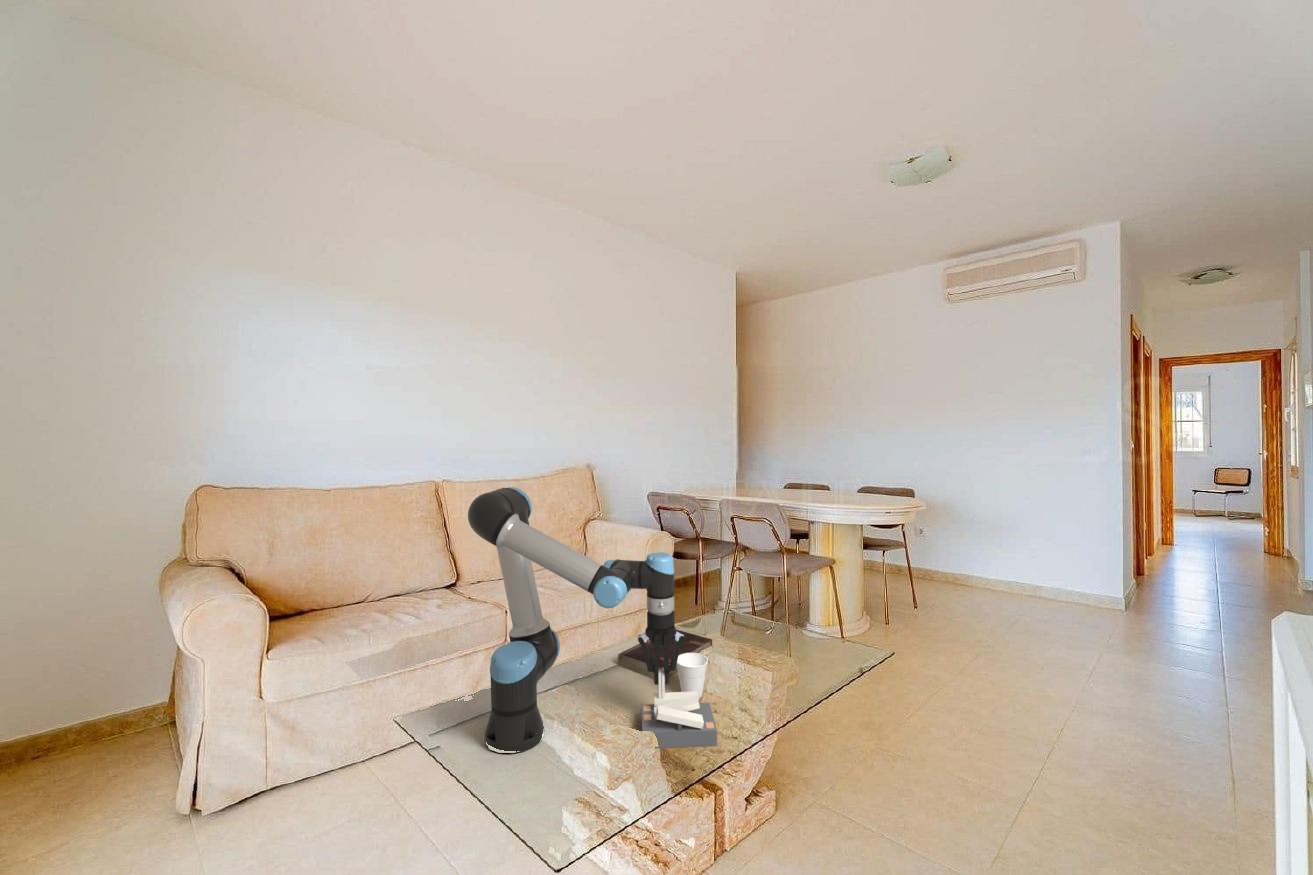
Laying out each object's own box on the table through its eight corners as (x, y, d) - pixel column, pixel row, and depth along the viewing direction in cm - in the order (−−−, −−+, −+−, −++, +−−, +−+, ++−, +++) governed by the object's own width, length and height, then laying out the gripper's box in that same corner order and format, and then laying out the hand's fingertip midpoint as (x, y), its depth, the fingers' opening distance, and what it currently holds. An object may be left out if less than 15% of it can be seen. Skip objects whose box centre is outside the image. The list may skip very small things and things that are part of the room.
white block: (656, 720, 146) (654, 714, 146) (655, 712, 150) (653, 706, 150) (700, 707, 147) (698, 702, 147) (698, 700, 151) (696, 695, 150)
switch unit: (642, 748, 141) (642, 727, 141) (641, 718, 155) (641, 699, 155) (717, 745, 142) (717, 724, 142) (709, 716, 156) (709, 697, 156)
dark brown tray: (670, 639, 211) (670, 626, 211) (712, 653, 199) (712, 639, 199) (618, 666, 188) (618, 652, 188) (661, 683, 176) (661, 668, 176)
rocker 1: (654, 705, 151) (654, 699, 151) (653, 698, 155) (653, 692, 155) (698, 703, 152) (698, 698, 151) (696, 696, 155) (696, 691, 155)
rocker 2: (656, 719, 142) (658, 713, 141) (656, 711, 145) (657, 705, 145) (702, 728, 142) (703, 722, 142) (700, 720, 146) (702, 714, 146)
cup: (706, 705, 162) (706, 668, 162) (672, 702, 164) (672, 665, 164) (710, 688, 172) (710, 653, 171) (678, 685, 174) (678, 651, 173)
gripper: (636, 616, 148) (637, 703, 149) (686, 614, 149) (686, 701, 149) (636, 606, 155) (637, 689, 156) (683, 605, 156) (684, 687, 157)
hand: (661, 695), depth 153 cm, fingers closed
